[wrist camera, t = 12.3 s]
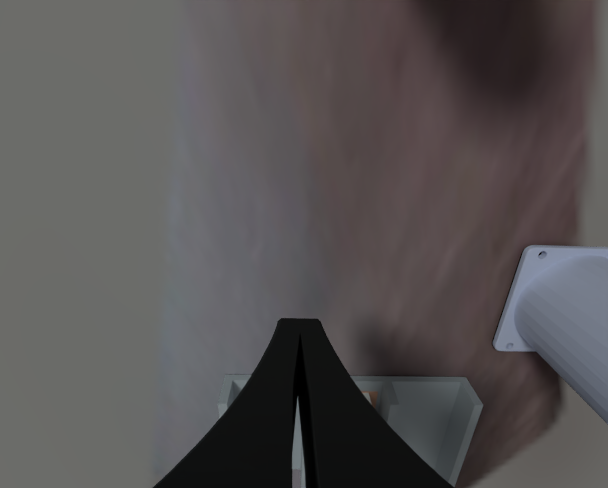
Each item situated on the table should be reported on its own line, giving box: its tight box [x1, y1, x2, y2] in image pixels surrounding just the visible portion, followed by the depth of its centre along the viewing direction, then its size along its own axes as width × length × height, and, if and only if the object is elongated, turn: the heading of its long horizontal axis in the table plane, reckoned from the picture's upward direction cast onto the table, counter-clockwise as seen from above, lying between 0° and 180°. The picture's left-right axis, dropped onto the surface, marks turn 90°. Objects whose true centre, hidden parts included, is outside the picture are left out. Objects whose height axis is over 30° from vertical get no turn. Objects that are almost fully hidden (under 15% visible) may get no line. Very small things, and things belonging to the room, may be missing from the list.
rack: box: [218, 375, 483, 488], centre depth 25 cm, size 18×10×2 cm, turn 88°
